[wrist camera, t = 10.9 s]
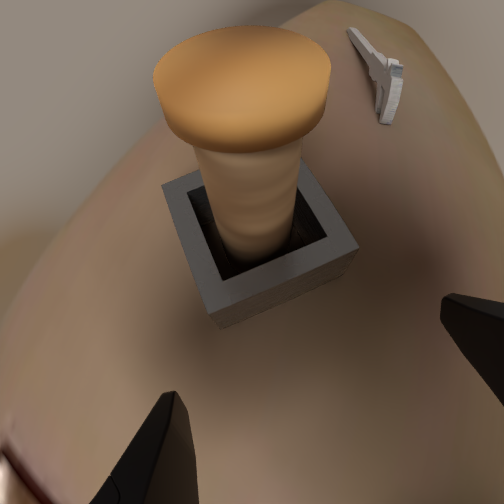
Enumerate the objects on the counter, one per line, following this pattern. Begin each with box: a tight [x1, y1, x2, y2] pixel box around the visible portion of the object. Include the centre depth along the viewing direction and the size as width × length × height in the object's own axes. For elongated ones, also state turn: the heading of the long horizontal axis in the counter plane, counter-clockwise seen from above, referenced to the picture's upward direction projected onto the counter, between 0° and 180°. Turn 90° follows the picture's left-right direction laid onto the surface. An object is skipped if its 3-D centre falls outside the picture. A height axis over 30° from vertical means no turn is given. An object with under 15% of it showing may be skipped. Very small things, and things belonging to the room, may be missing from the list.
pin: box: [153, 26, 331, 274], centre depth 14 cm, size 5×5×13 cm
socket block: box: [161, 157, 360, 329], centre depth 18 cm, size 8×8×4 cm
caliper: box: [347, 27, 403, 125], centre depth 25 cm, size 20×1×6 cm, turn 176°
